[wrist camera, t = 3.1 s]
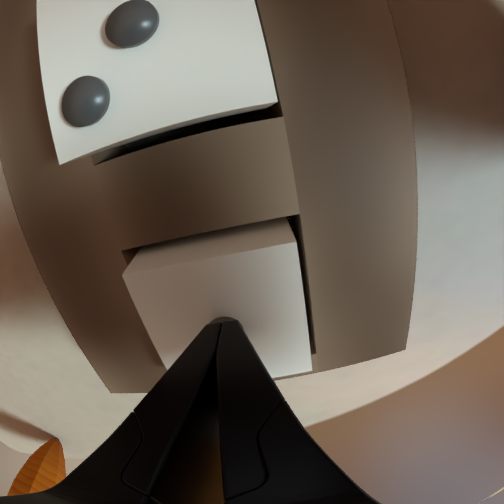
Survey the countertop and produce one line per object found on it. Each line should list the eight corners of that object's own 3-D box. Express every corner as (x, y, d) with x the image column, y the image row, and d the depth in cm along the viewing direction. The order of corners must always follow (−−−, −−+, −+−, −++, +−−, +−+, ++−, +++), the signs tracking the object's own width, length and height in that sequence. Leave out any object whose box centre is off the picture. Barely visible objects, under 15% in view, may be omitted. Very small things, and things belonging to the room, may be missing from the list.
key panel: (286, -137, 3) (292, -166, 1) (382, 312, 12) (405, 349, 10) (31, -62, 4) (5, -77, 2) (125, 354, 13) (110, 393, 11)
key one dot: (280, 202, 10) (297, 245, 7) (297, 310, 12) (313, 375, 9) (154, 229, 10) (119, 279, 7) (190, 327, 12) (176, 393, 9)
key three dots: (235, -21, 6) (230, -84, 3) (265, 108, 8) (279, 100, 5) (95, 22, 6) (32, -9, 3) (118, 146, 8) (54, 167, 5)
